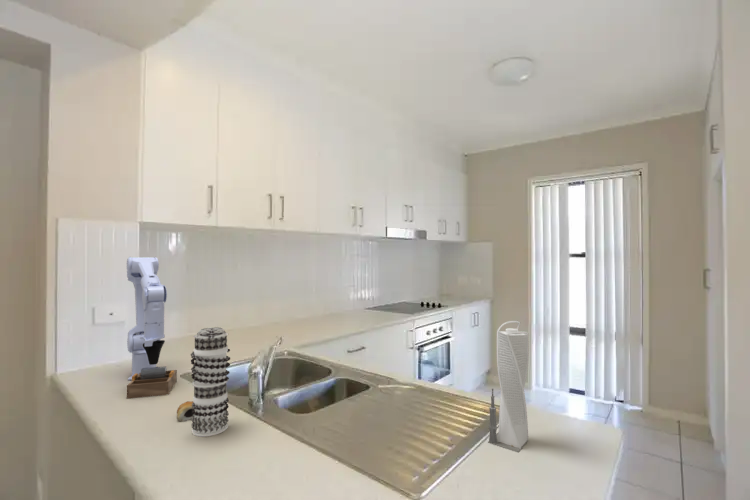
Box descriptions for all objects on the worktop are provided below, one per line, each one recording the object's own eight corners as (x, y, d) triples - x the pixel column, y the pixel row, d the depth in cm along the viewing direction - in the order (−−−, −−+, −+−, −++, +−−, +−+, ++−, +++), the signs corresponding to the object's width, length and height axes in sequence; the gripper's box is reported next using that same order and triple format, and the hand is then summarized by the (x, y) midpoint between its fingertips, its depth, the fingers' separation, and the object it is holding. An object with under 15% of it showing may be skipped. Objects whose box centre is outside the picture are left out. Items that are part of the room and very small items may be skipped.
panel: (142, 386, 123) (142, 368, 123) (166, 384, 125) (166, 366, 125) (140, 388, 121) (140, 369, 121) (164, 386, 123) (165, 367, 124)
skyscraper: (501, 431, 94) (500, 318, 94) (535, 441, 88) (533, 321, 89) (487, 443, 87) (486, 322, 88) (523, 455, 82) (522, 326, 83)
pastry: (176, 411, 106) (176, 397, 106) (202, 406, 110) (202, 393, 110) (177, 423, 98) (177, 408, 98) (205, 418, 101) (205, 404, 101)
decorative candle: (191, 424, 97) (192, 327, 98) (230, 418, 100) (230, 325, 101) (187, 440, 89) (188, 333, 89) (229, 433, 92) (230, 331, 93)
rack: (139, 384, 128) (139, 369, 128) (176, 381, 132) (176, 366, 132) (126, 398, 115) (126, 381, 115) (168, 394, 119) (168, 378, 119)
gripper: (146, 319, 130) (145, 359, 129) (133, 326, 116) (132, 371, 115) (169, 318, 132) (168, 357, 131) (159, 325, 118) (158, 369, 118)
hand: (153, 363), depth 123 cm, fingers closed
